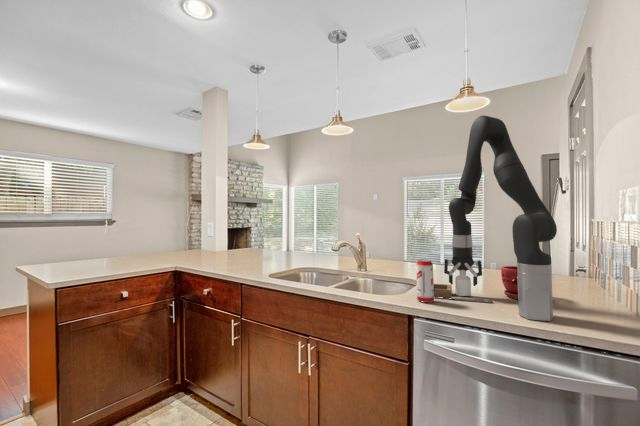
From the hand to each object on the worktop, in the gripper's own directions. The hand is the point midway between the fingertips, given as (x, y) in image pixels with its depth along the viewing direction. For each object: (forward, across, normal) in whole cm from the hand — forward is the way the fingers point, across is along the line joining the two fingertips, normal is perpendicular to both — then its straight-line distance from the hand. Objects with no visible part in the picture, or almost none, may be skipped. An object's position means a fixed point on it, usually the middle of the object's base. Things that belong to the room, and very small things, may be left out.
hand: (463, 284), depth 129 cm
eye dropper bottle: (+5, 0, 0) cm, 5 cm away
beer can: (+5, -14, -14) cm, 20 cm away
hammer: (+4, -2, -3) cm, 6 cm away
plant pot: (+5, +21, +5) cm, 22 cm away
